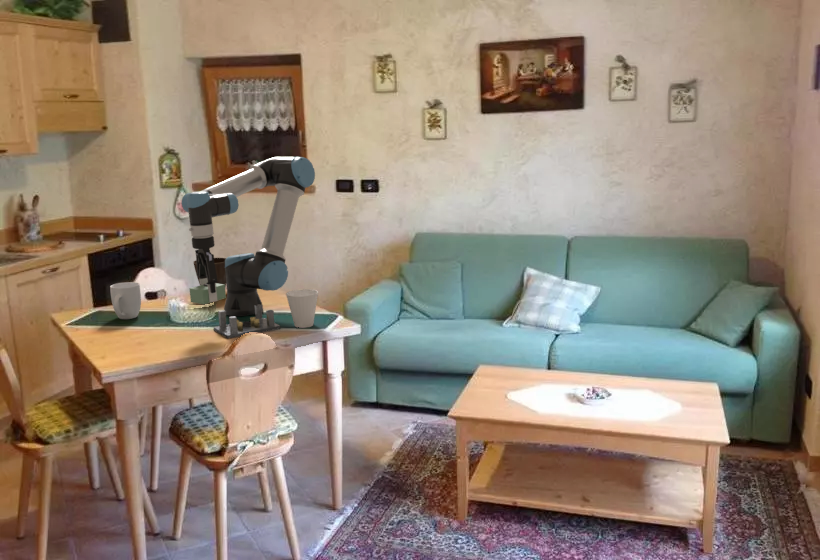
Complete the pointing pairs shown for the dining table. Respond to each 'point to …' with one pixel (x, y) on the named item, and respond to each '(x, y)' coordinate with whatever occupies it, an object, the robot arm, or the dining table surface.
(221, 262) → the plant pot
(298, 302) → the cup
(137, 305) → the mug
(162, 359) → the dining table surface
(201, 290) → the block
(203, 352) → the dining table surface
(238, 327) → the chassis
